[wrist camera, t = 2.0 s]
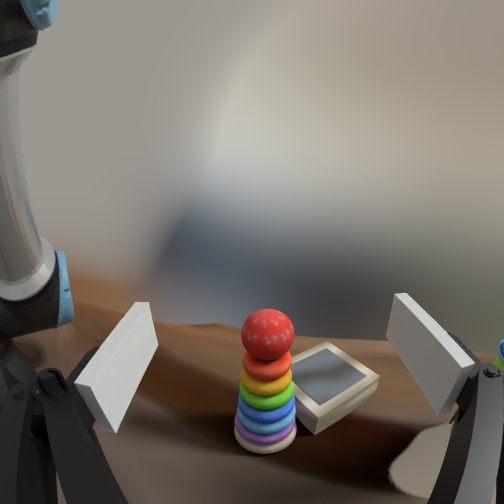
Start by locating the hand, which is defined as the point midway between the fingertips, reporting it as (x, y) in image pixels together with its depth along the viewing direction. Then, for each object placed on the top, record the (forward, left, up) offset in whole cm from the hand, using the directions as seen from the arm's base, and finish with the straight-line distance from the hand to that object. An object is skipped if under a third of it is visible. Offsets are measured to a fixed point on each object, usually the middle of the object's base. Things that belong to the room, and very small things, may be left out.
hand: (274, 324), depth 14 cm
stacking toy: (-9, +5, -24) cm, 26 cm away
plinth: (-11, +16, -24) cm, 31 cm away
